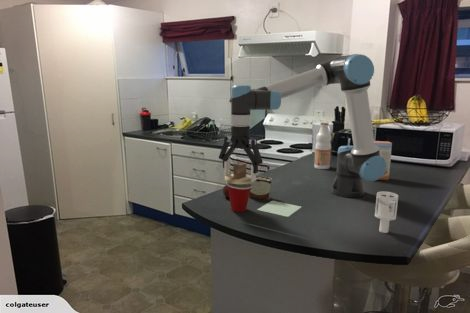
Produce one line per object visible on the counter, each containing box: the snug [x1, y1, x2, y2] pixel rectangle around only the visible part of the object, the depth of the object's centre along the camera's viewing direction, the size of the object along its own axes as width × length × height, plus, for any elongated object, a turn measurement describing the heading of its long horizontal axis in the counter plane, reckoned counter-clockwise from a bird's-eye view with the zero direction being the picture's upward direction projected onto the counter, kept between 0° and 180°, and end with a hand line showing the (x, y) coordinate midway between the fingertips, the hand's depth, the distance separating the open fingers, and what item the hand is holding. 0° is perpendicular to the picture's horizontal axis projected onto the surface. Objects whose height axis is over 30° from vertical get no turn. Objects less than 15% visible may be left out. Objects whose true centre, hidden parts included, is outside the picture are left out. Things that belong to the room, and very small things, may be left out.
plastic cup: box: [226, 182, 253, 213], centre depth 148 cm, size 11×11×12 cm
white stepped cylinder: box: [374, 191, 399, 234], centre depth 129 cm, size 7×7×15 cm
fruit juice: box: [313, 122, 332, 170], centre depth 223 cm, size 9×9×28 cm
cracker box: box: [374, 140, 393, 181], centre depth 200 cm, size 14×6×21 cm, turn 84°
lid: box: [224, 162, 254, 184], centre depth 146 cm, size 12×12×7 cm
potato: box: [222, 184, 230, 199], centre depth 166 cm, size 7×10×6 cm
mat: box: [256, 200, 302, 218], centre depth 152 cm, size 14×14×1 cm
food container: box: [248, 174, 274, 201], centre depth 166 cm, size 12×6×10 cm, turn 71°
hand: (239, 178), depth 147 cm, fingers closed on lid, 12 cm apart
